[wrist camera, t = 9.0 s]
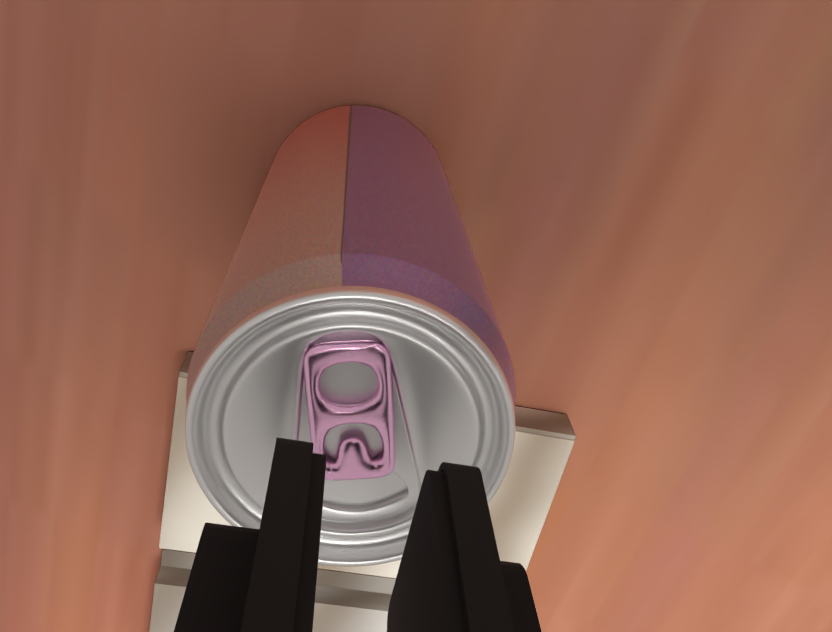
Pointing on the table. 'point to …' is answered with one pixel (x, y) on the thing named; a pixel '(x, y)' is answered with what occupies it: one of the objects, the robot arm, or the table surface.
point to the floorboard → (334, 600)
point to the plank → (515, 537)
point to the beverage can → (351, 338)
